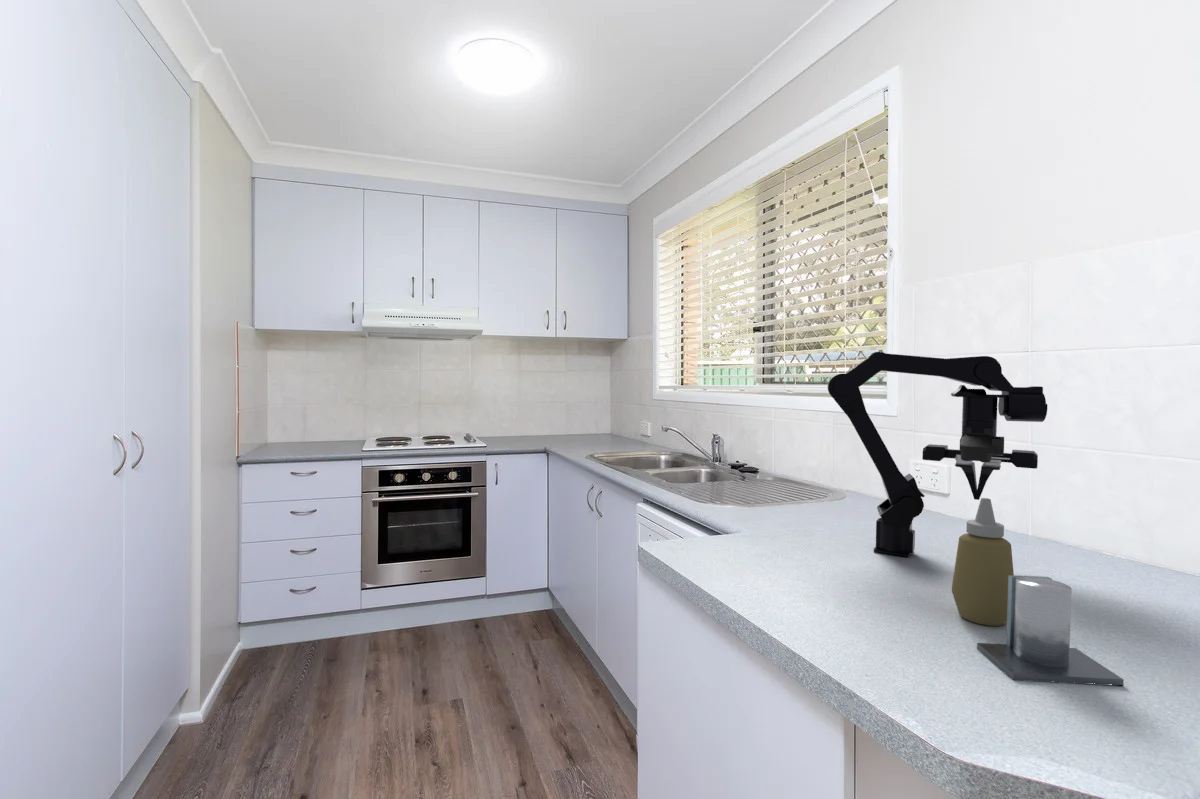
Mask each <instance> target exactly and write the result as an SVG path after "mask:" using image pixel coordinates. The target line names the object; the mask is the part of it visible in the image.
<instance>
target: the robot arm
mask: <svg viewBox="0 0 1200 799" xmlns="http://www.w3.org/2000/svg"><path fill="white" fill-rule="evenodd" d="M1002 369H1003V368H1002V366H1001V364H1000V361H998V360H997V359H996V358H995V357H992V356H989V355H983V356H981V355H978V356H965V357H952V358H951V357H950V358H943V357H941V358H940V357H930V356H922V355H920V356H919V355H909V354H908V355H907V354H896V353H895V354H894V353H886V352H883V351H875V352H873V353H871V354H870V353H869V355H868V356H867V358H865V359H864V360H863V361H861V362H860V363H858V364H857V365H855V366H854V367H853V368H852V369H850V370H849V371H847V372H846V373H839V374H836V375H834V376H832V377H831V378H830V380H829V381H828V384H827V391H828V393H829V395H830V397H831V398H832V399H833V400H834V401H835V403H836V404H837V405H838V406H839V408H840V409H841V410H842V411H843V413H844V414H845V415H846V416H847V418H848V419H849V421H850V422H851V425H852V426H853V427H854V430H855V431H856V434H857V436H858V437H859V439H860V440H861V442H862V444H863V447H864V448H865V449H866V451H867V453H868V455H869V457H870V459H871V460H872V463H873V464H874V466H875V468H876V469H877V472H878V473H879V475H880V479H881V481H882V485H883V488H884V492H885V494H886V497H887V498H886V499H885V500H884V501H883V502H881V503H880V504H879V505H877V507H876V509H877V512H878V514H879V516H880V517H878V518H877V520H876V523H875V546H874V548H873V552H876V553H880V554H887V555H892V556H899V557H905V558H909V557H910V556H911V554H913V552H914V551H915V549H916V547H915V546H916V544H915V543H916V531H915V529H913V521H914V519H915V518H917V517H918V516H920V514H921V513H922V512H923V510H924V508H925V505H924V504H925V503H924V501H923V498H925V495H924V493H923V492H922V491H921V490H920V489H919V487H918V483H917V481H916V478H915V477H914V476H913V475H912V474H911V473H908V474H906V475H904V474H903V473H902V472H901V471H900V469H899V468H898V465H897V463H896V462H895V460H894V459H893V457H892V455H891V453H890V451H889V450H888V447H887V446H886V445H885V442H884V441H883V439H882V437H881V436H880V434H879V432H878V430H877V428H876V426H875V424H874V423H873V421H872V419H871V417H870V415H869V414H868V412H867V410H866V406H865V402H864V400H863V396H862V393H861V390H860V387H861V386H862V385H863V384H865V383H867V381H869V380H871V379H872V378H873V377H875V375H877V374H878V373H880V372H889V373H890V372H891V373H899V374H908V375H909V374H911V375H912V374H914V375H921V376H933V377H940V378H941V377H942V378H945V379H949V380H951V381H954V382H958V383H963V384H960V385H959V386H958V388H957V389H955V390H954V391H952V392H951V394H950V396H951V397H955V398H962V416H961V420H962V421H961V436H960V439H959V449H950V448H949V447H948V445H946V444H945V445H944V444H932V443H931V444H930V443H929V444H927V445H925V447H924V448H923V449H922V460H923V461H933V462H941V461H942V460H943V459H954V460H955V461H956V462H955V464H954V466H955V467H956V468H960V469H961V470H962V471H963V473H964V475H965V477H966V479H967V481H968V485H969V488H970V490H971V493H972V496H973V499H974V500H975V501H976V500H978V501H979V500H981V496H982V493H983V491H984V489H985V486H986V484H987V481H988V480H989V478H990V477H991V475H992V474H993V471H999V470H1001V466H1002V465H1001V464H1002V463H1009V464H1010V463H1012V465H1014V467H1016V468H1021V469H1022V468H1023V469H1038V465H1039V464H1038V463H1039V460H1038V458H1039V457H1038V456H1039V455H1038V453H1037V452H1036V451H1035V450H1027V449H1026V450H1023V449H1012V451H1011V452H1005V436H997V427H998V426H997V425H998V415H999V416H1000V417H1004V419H1005V421H1007V422H1025V423H1026V422H1027V423H1028V422H1033V423H1034V422H1035V423H1043V422H1045V420H1046V418H1047V414H1048V404H1047V400H1046V396H1045V393H1044V387H1043V386H1037V385H1036V386H1032V385H1031V386H1026V387H1025V386H1023V387H1022V386H1020V387H1019V386H1018V387H1016V386H1015V387H1014V386H1013V385H1012V383H1011V382H1009V380H1008V379H1007V378H1006V376H1005V375H1004V374H1003V373H1002V371H1003V370H1002ZM965 384H967V385H970V386H974V387H975V386H977V387H978V386H981V387H983V388H968V387H966V385H965ZM984 388H985V389H987V390H988V391H995V392H1001V394H987V392H986V390H985V389H984ZM975 462H980V463H982V465H981V467H980V473H979V474H980V475H979V478H978V484H977V475H976V474H977V473H976V464H975Z"/></svg>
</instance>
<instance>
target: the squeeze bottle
mask: <svg viewBox="0 0 1200 799" xmlns="http://www.w3.org/2000/svg"><path fill="white" fill-rule="evenodd" d="M979 500H980V501H979V503H978V508H977V511H976V515H975V518H974V519H969V520H967V521H966V533H963V534H962V535H960V536H959V537H958V543H957V550H956V557H955V564H954V569H953V576H952V584H951V593H952V596H953V599H954V602H955V605H956V608H957V612H958V614H959V616H960V617H962V618H963V619H964V620H967V621H970V622H973V623H976V624H978V625H979V624H980V625H984V626H991V627H992V626H993V627H995V626H996V627H998V626H1004V625H1005V624H1007V608H1008V577H1009V575H1015V574H1014V565H1013V564H1014V561H1013V552H1012V551H1013V550H1012V544H1011V543H1010V541H1008V540H1007V539H1006V538H1004V536H1005V526H1004V524H1003V523H1000V522H997V521H996V518H995V514H994V513H995V512H994V509H993V505H992V500H991V498H988V497H987V498H986V497H980V499H979Z"/></svg>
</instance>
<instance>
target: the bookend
mask: <svg viewBox="0 0 1200 799" xmlns="http://www.w3.org/2000/svg"><path fill="white" fill-rule="evenodd" d="M1072 591H1073V589H1072V587H1071V586H1070V585H1068V584H1066V583H1064V582H1061V581H1058V580H1054V579H1053V578H1051V577H1049V576H1041V575H1040V576H1039V575H1038V576H1037V575H1036V576H1035V575H1034V576H1033V575H1017V574H1014V575H1009V577H1008V608H1007V622H1006V642H1005V643H990V642H989V643H988V642H987V643H986V642H985V643H983V642H976V649H977V650H978V651H979V652H980V651H981V652H982V653H983V655H984V656H985V657H986V658H987V657H988V658H989V659H990V660H989V659H988V658H987V659H988V660H989V661H990V662H991V663H992V664H994V665H995V666H996V667H997V668H998V669H999V670H1001V671H1002V672H1003V673H1004V674H1005V675H1007V677H1009V678H1010V679H1011V680H1013V681H1024V680H1033V681H1032V682H1041V681H1054V682H1053V683H1058V682H1067V683H1066V684H1075V683H1093V684H1094V683H1095V684H1112V685H1123V686H1124V682H1125V681H1124V678H1122V677H1120V676H1119V675H1117V674H1116V673H1115V672H1113V671H1111V670H1110V669H1108V668H1107V667H1105V666H1103V665H1102V664H1101V663H1099V662H1098V661H1096V660H1094V659H1093V658H1091V657H1090V656H1089V655H1087V654H1086V653H1084V652H1082V651H1081V650H1079V649H1078V648H1077V647H1070V645H1071V644H1070V643H1071V625H1072V624H1071V621H1072V619H1071V618H1072V595H1073V592H1072ZM981 652H980V653H981ZM982 653H981V654H982ZM1070 682H1071V683H1070ZM1074 682H1075V683H1074Z"/></svg>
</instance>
